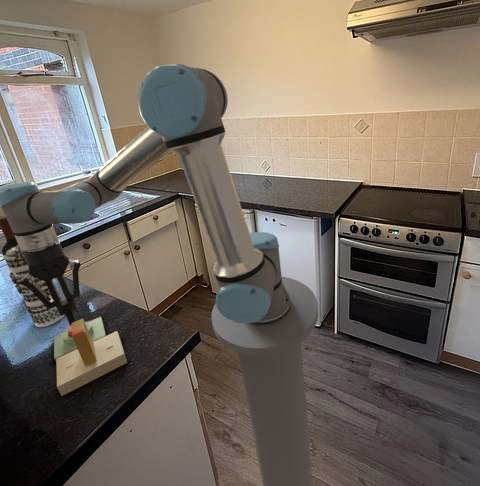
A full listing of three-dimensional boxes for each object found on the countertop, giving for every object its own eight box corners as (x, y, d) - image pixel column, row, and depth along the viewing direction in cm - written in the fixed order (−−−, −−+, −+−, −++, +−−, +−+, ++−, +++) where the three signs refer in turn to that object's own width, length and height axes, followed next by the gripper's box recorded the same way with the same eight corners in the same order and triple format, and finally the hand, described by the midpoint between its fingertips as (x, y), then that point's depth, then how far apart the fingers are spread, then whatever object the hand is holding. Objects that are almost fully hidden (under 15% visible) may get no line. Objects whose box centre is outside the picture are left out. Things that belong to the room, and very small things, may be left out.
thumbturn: (83, 351, 75) (70, 322, 72) (94, 346, 77) (82, 317, 73) (85, 366, 71) (71, 336, 67) (96, 361, 72) (84, 331, 69)
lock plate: (120, 339, 82) (117, 330, 81) (127, 362, 74) (124, 353, 73) (60, 367, 75) (56, 357, 74) (61, 396, 67) (56, 386, 66)
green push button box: (102, 319, 91) (99, 311, 90) (106, 338, 83) (103, 330, 82) (55, 339, 85) (51, 331, 84) (55, 362, 77) (51, 353, 76)
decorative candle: (74, 307, 98) (46, 239, 89) (52, 327, 89) (19, 255, 80) (49, 307, 99) (19, 240, 90) (25, 328, 90) (-11, 256, 81)
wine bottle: (22, 304, 102) (-17, 224, 91) (27, 293, 108) (-10, 217, 97) (49, 296, 105) (14, 218, 94) (51, 285, 112) (19, 211, 101)
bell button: (85, 324, 85) (83, 319, 85) (86, 332, 82) (84, 327, 82) (69, 331, 83) (66, 326, 83) (69, 339, 80) (67, 334, 80)
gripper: (4, 260, 67) (44, 341, 75) (72, 241, 73) (101, 317, 82) (8, 249, 73) (44, 325, 81) (70, 232, 79) (97, 304, 88)
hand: (72, 321), depth 82 cm, fingers closed
